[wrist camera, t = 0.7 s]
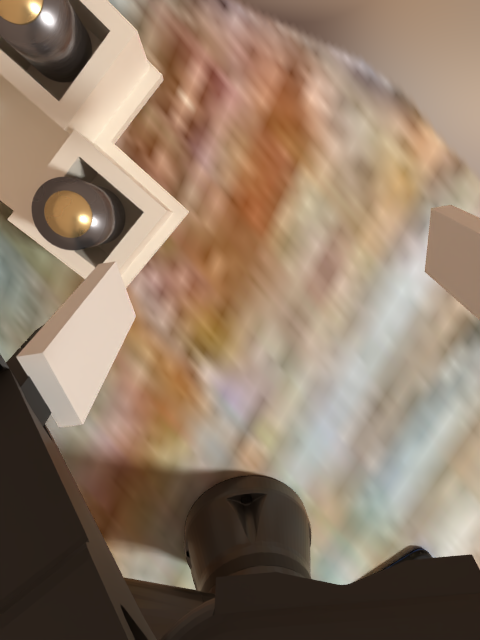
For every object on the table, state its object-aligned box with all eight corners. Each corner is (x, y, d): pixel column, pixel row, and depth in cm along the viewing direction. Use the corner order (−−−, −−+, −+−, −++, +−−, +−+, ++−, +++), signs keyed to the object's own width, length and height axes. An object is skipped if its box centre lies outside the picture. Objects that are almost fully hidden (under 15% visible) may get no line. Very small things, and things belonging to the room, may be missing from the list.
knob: (102, 255, 29) (77, 265, 23) (55, 217, 28) (15, 217, 22) (136, 213, 28) (119, 211, 22) (89, 172, 27) (58, 160, 21)
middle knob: (67, 96, 26) (27, 60, 20) (12, 46, 24) (-49, -8, 19) (105, 45, 25) (75, -9, 19) (49, -9, 24) (0, -84, 18)
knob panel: (123, 291, 35) (104, 309, 28) (-161, 70, 28) (-279, 21, 21) (237, 154, 33) (247, 136, 26) (-41, -124, 26) (-130, -250, 19)
